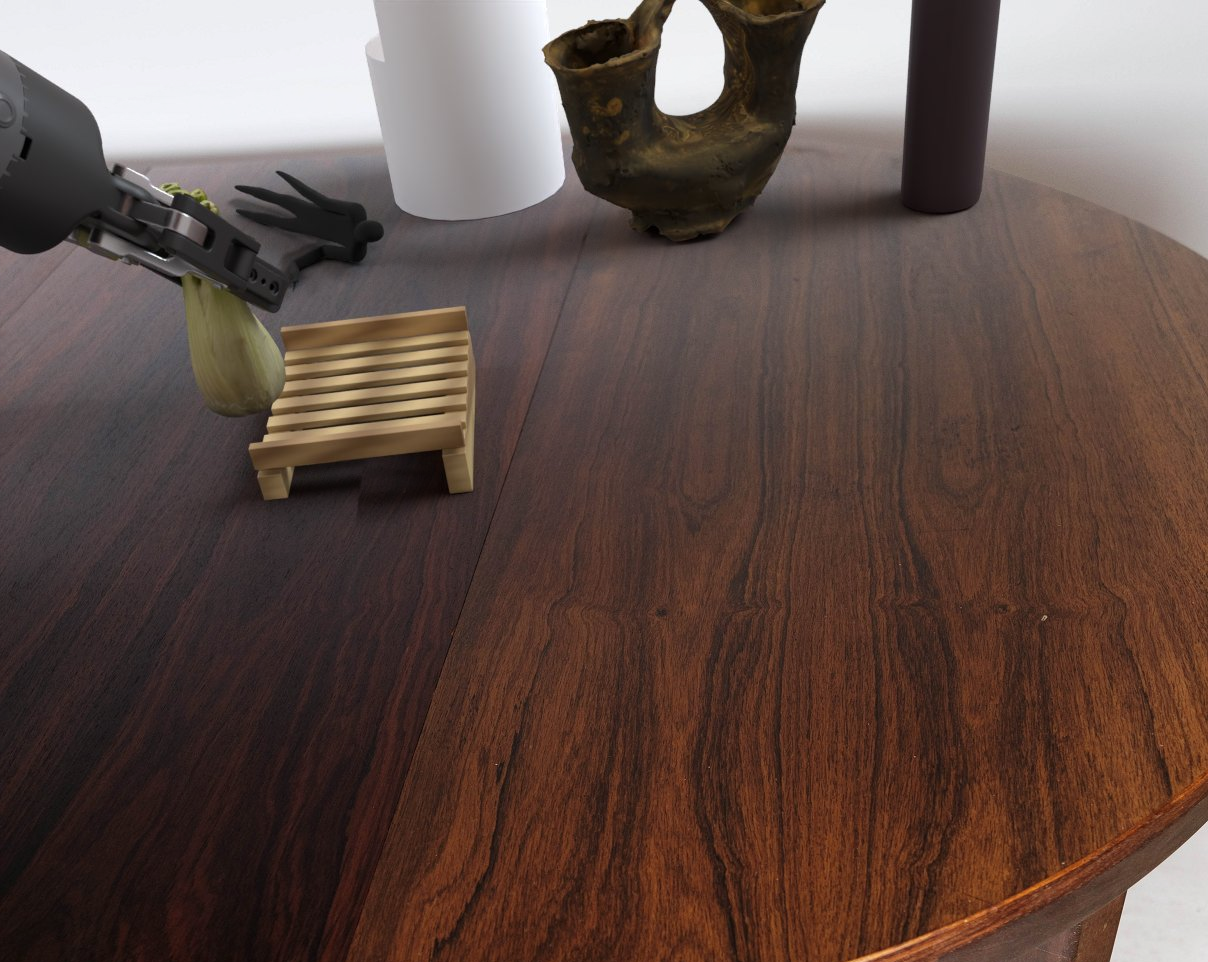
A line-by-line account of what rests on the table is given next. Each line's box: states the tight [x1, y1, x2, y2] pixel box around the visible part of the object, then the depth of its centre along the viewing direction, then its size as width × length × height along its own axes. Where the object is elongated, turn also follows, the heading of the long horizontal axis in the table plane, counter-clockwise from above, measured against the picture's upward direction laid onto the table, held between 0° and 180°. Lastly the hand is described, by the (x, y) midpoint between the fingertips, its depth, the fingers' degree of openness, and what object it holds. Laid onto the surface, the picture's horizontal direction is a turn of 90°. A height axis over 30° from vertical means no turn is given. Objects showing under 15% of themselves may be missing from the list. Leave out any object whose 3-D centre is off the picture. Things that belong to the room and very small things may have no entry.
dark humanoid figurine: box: [234, 170, 385, 293], centre depth 120 cm, size 8×9×25 cm
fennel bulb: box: [156, 182, 286, 419], centre depth 69 cm, size 6×5×12 cm
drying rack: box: [248, 305, 477, 501], centre depth 93 cm, size 14×18×5 cm
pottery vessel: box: [542, 0, 827, 242], centre depth 112 cm, size 25×11×20 cm, turn 112°
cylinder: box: [364, 0, 566, 222], centre depth 121 cm, size 17×17×28 cm
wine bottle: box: [900, 0, 1002, 214], centre depth 107 cm, size 7×7×30 cm
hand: (239, 283), depth 70 cm, fingers closed on fennel bulb, 5 cm apart
